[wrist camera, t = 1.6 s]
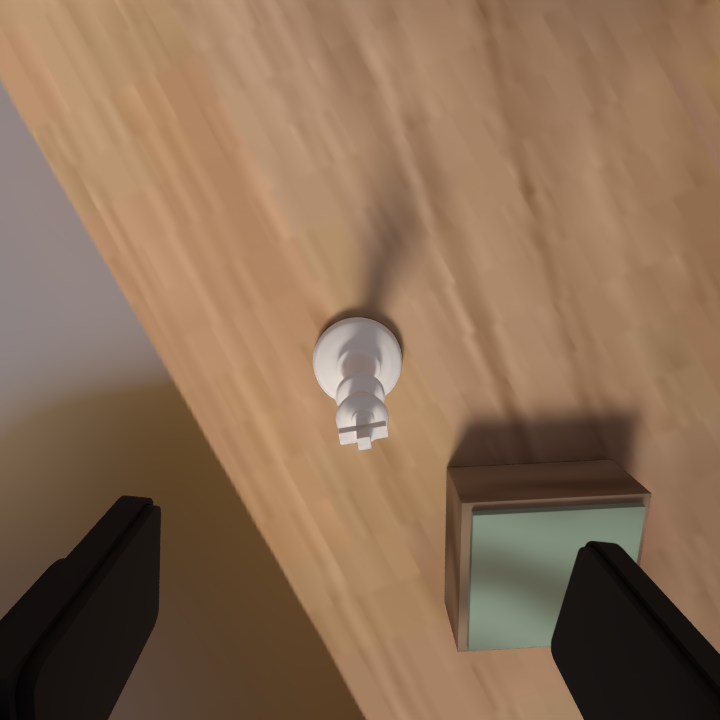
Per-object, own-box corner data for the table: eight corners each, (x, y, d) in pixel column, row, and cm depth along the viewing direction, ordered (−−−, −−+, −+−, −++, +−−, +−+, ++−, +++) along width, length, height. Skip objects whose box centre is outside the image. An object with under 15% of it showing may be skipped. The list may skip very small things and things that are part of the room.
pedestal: (446, 467, 26) (464, 507, 22) (611, 459, 26) (656, 497, 22) (444, 602, 29) (459, 658, 25) (593, 593, 29) (631, 648, 25)
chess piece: (304, 325, 24) (275, 388, 14) (394, 309, 23) (427, 361, 14) (322, 408, 25) (307, 518, 15) (407, 394, 25) (445, 494, 15)
